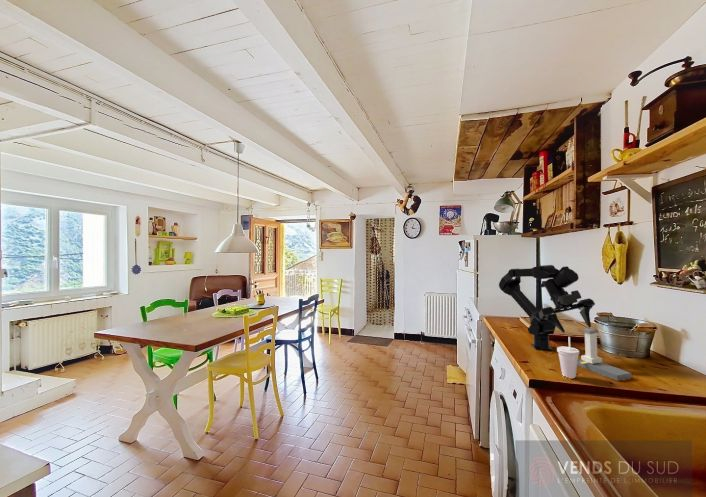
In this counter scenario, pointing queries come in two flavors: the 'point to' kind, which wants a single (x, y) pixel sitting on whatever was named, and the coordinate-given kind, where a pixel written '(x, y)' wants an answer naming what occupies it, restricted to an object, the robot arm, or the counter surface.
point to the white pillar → (591, 346)
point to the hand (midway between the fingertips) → (577, 329)
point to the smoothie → (568, 360)
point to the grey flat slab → (605, 370)
